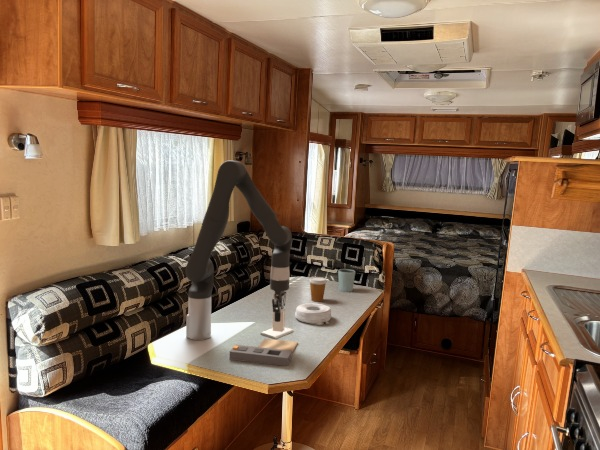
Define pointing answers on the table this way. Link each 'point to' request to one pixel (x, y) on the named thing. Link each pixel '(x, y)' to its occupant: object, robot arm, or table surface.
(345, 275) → the pale teal cup
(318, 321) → the cable
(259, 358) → the power strip
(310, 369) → the table surface
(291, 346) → the cork mat
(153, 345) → the table surface
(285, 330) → the external hard drive
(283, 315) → the charger
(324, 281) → the disposable coffee cup
